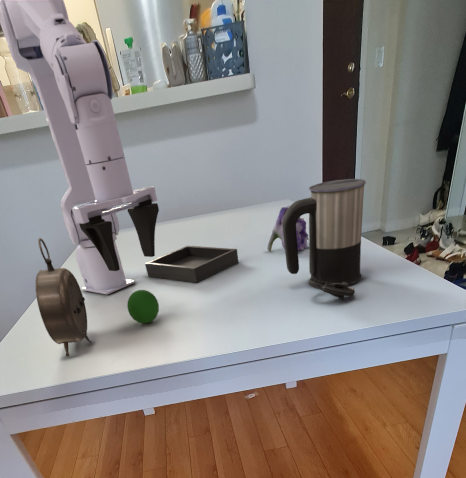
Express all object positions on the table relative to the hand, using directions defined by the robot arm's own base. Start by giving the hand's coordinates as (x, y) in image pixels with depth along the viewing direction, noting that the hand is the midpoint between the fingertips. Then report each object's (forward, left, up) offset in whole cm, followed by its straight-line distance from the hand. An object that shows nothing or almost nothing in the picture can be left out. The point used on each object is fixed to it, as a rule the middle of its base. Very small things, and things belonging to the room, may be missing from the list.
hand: (132, 263), depth 74 cm
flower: (0, +43, -10) cm, 44 cm away
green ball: (0, 0, -7) cm, 7 cm away
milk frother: (+23, +25, -10) cm, 35 cm away
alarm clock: (-4, -12, -10) cm, 16 cm away
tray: (-14, +26, -10) cm, 31 cm away
